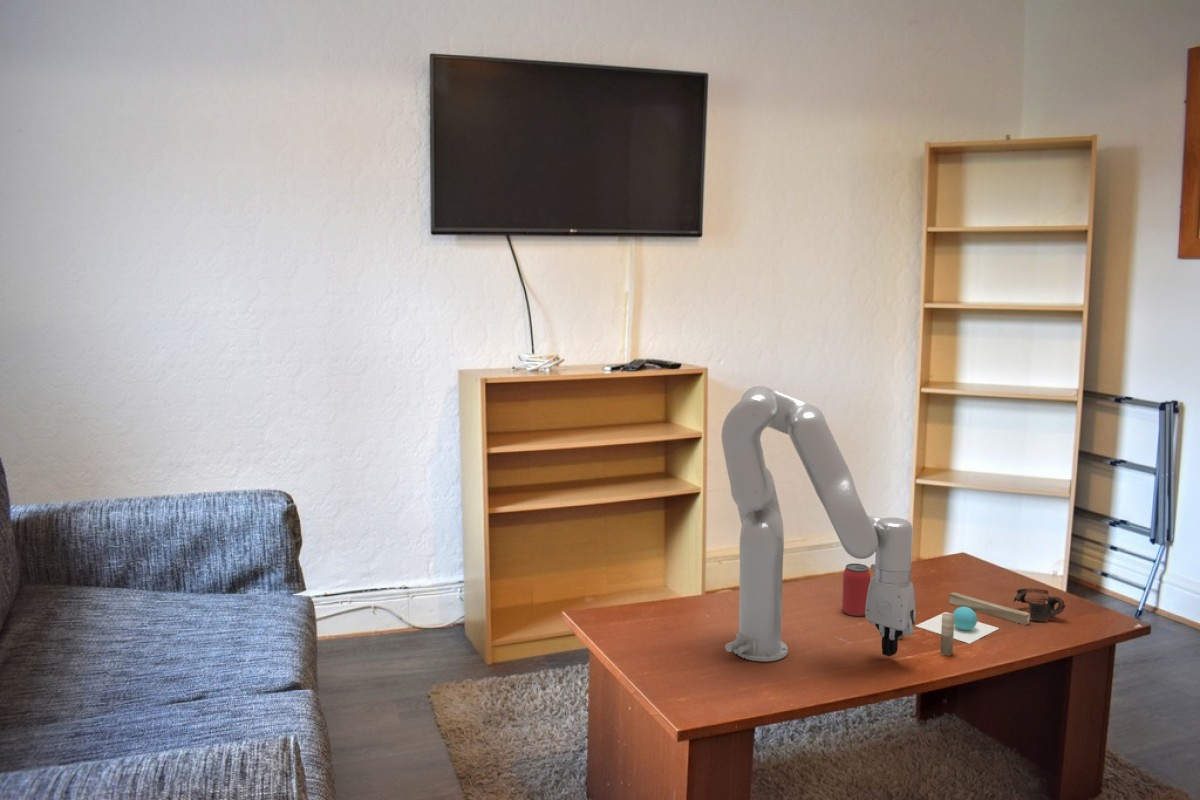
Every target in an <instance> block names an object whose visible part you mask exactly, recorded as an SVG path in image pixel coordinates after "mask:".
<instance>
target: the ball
mask: <svg viewBox="0 0 1200 800" xmlns="http://www.w3.org/2000/svg"><path fill="white" fill-rule="evenodd" d="M952 614H953V615H954V616H955V617H954V625H955V626H956V627H957V628H959V629H961V630H965V631H967V630H971V629H973V628H974V627H975V626H976V624H977V622H978V616H977V613H976V611H975V610H972V609H970V608H968V607H961V606H958V607H957V608H956V609H955V610H954V611H953V612H952Z"/></svg>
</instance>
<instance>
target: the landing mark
mask: <svg viewBox="0 0 1200 800" xmlns="http://www.w3.org/2000/svg"><path fill="white" fill-rule="evenodd" d="M945 613H947V614H952V615H953V613H952V612H951V613H950V612H946V611H945V612H942V613H941V614H938V615H935V616H934V617H932V618H931V617H930V619H927V620H925V621H923V622H920V623H918V624H916V625H914V627H916V628H919V629H922V630H924V629H925V631H928V632H931V633H934V634H937V633H938V634H937V635H940V634H941V629H942V614H945ZM998 630H1000V628H999V627H997V626H993V625H990V624H987V623H983V622H980V621H977V624H976V626H975V627H974V628H973V629H971V630H967V631H965V630H961V629H959V628H957V627H956V626H955V625H954V636H953V640H955V639H956V641H959V642H961V641H962V643H964V642H965V644H968V645H971V644H972V643H975V642H977V641H979V640H980V638H981V639H982V637H983V638H985V637H986V635H987V636H988V635H990V634H993V633H994V632H995V631H998ZM984 636H985V637H984Z"/></svg>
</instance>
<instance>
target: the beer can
mask: <svg viewBox="0 0 1200 800" xmlns="http://www.w3.org/2000/svg"><path fill="white" fill-rule="evenodd" d="M869 569H870V567H868V566H867V565H866V564H862V563H854V562H853V563H848V564H846V565H845V568H844V570H843V575H842V600H841V601H842V604H841V605H842V606H841V610H842V612H843V613H845V614H846V615H849V616H853V617H864V616H866V614H865V611H866V600H867V593H868V588H869V584H870V580H871V573H870V571H869Z"/></svg>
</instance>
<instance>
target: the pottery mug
mask: <svg viewBox="0 0 1200 800" xmlns="http://www.w3.org/2000/svg"><path fill="white" fill-rule="evenodd" d="M1046 601H1047V603H1046ZM1016 602H1020V603H1024V604H1028V607H1029V610H1022V612H1026V613H1029V614H1030V619H1029V621H1036V622H1043V623H1048V622H1049V617H1050V618H1051V619H1054V617H1055V616H1057V615H1060V614H1061V613H1062V612H1063V611H1064V610H1065V608H1066V605H1065V601H1064V599H1063V598H1061V597H1058V596H1050V595H1049V591H1048V590H1047V589H1045V588H1037V587H1035V588H1034V587H1033V588H1031V587H1030V588H1026V587H1025V588H1021V589H1017V590H1016V596H1015V597H1014V599H1013V603H1016ZM1056 604H1058V605H1057V607H1056V608H1055V606H1056Z"/></svg>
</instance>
